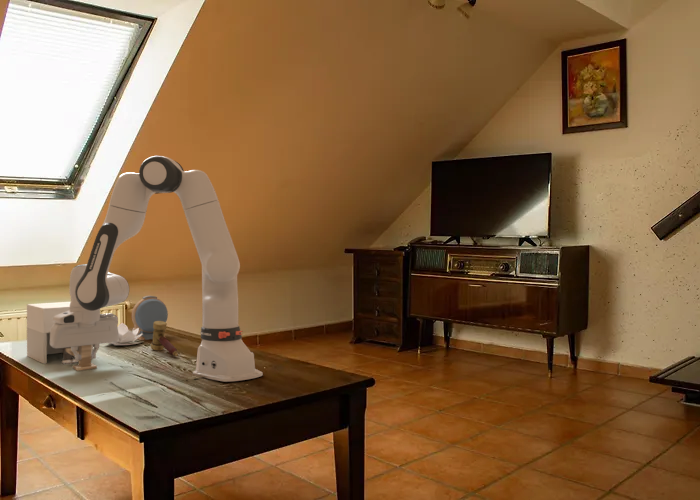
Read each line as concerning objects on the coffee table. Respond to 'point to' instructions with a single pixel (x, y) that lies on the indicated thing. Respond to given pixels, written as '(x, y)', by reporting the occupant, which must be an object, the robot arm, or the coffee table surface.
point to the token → (69, 361)
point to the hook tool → (85, 355)
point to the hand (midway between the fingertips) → (85, 359)
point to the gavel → (161, 338)
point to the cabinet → (43, 329)
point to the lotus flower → (126, 335)
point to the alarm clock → (148, 315)
